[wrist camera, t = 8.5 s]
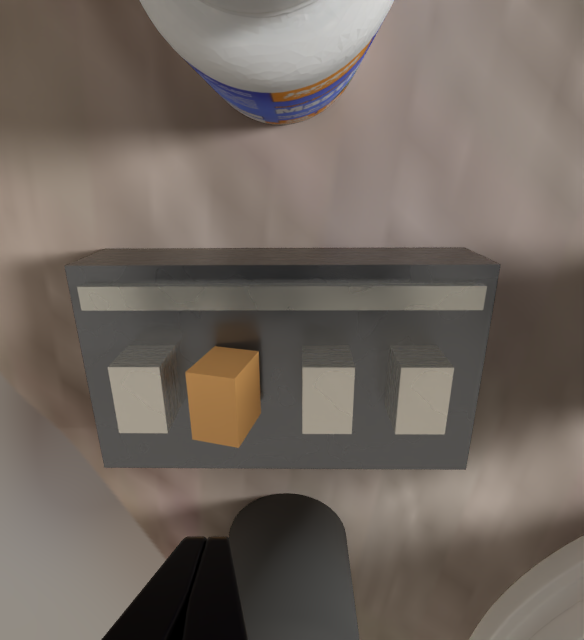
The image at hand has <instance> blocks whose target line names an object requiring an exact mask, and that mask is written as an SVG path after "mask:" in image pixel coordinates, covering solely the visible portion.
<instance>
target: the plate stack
mask: <svg viewBox="0 0 584 640" xmlns="http://www.w3.org/2000/svg"><path fill="white" fill-rule="evenodd" d="M469 640H584V535H583V536H581V537H579V538H578V539H576V540H574V541H572V542H571V543H569V544H567V545H565V546H564V547H562V548H561V549H559V550H557V551H556V552H554V553H553V554H551V555H550V556H548V557H547V558H545V559H544V560H542V561H541V562H540V563H538V564H537V565H535V566H534V567H533V568H532V569H530V570H529V571H528V572H526V573H525V574H524V575H523V576H522V577H520V578H519V579H518V580H517V581H516V582H515V583H514V584H513V585H511V586H510V587H509V588H508V589H507V590H506V591H505V592H504V593H503V594H502V595H501V596H500V597H499V598H498V600H497V601H496V602H495V603H494V604H493V605H492V606H491V608H490V609H489V610H488V611H487V613H486V614H485V615H484V617H483V618H482V619H481V621H480V622H479V624H478V625H477V627H476V628H475V630H474V632H473V633H472V635H471V637H470V639H469Z"/></svg>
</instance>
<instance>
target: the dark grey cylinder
mask: <svg viewBox="0 0 584 640" xmlns="http://www.w3.org/2000/svg"><path fill="white" fill-rule="evenodd" d="M229 541H230V546H231V551H232V556H233V562H234V567H235V572H236V577H237V583H238V588H239V593H240V598H241V604H242V609H243V614H244V619H245V625H246V630H247V635H248V640H359V632H358V625H357V617H356V609H355V601H354V594H353V586H352V578H351V571H350V563H349V555H348V547H347V540H346V533H345V529H344V526H343V523H342V522H341V520H340V518H339V517H338V516H337V514H336V513H335V512H334V511H333V510H332V509H331V508H329V507H328V506H326V505H325V504H323V503H322V502H320V501H318V500H315V499H313V498H310V497H307V496H303V495H297V494H276V495H270V496H266V497H263V498H260V499H258V500H256V501H254V502H252V503H250V504H249V505H247V506H246V507H245V508H243V509H242V510H241V511H240V512H239V514H238V515H237V516H236V517H235V519H234V521H233V523H232V525H231V528H230V534H229Z"/></svg>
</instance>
